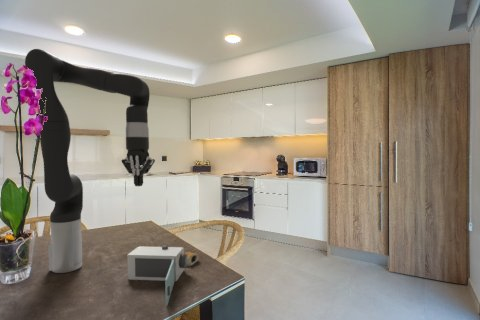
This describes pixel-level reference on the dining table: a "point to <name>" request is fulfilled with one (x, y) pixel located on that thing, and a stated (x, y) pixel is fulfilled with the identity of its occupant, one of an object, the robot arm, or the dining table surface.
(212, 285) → the dining table surface
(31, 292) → the dining table surface
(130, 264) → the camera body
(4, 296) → the dining table surface
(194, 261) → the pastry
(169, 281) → the door
